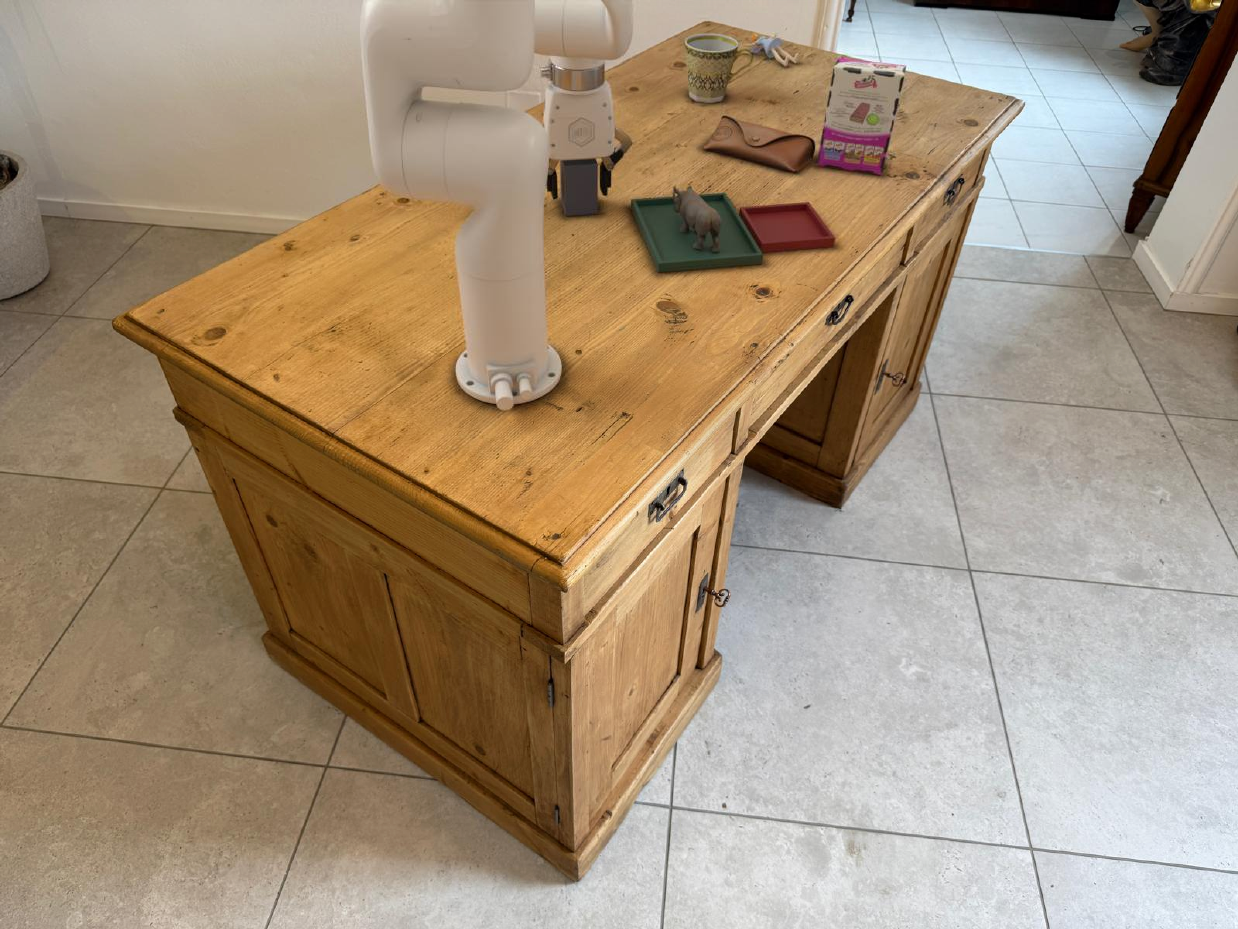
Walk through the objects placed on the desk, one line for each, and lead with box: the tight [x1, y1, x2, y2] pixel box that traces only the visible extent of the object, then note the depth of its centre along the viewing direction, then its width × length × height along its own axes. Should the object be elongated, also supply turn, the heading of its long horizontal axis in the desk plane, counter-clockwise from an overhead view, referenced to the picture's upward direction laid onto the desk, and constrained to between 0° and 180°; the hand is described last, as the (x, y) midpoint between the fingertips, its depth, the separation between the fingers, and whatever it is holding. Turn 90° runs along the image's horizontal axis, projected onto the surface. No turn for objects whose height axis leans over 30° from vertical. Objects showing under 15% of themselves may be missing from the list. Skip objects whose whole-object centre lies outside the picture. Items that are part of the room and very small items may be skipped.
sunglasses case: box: [702, 115, 816, 173], centre depth 151 cm, size 18×7×7 cm, turn 61°
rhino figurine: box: [672, 185, 722, 253], centre depth 129 cm, size 4×14×6 cm, turn 21°
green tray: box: [630, 192, 764, 273], centre depth 130 cm, size 19×15×2 cm
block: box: [559, 158, 599, 217], centre depth 134 cm, size 5×5×8 cm
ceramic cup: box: [684, 33, 754, 104], centre depth 166 cm, size 13×10×10 cm
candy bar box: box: [816, 57, 907, 176], centre depth 144 cm, size 11×5×16 cm, turn 73°
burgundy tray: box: [738, 201, 836, 254], centre depth 132 cm, size 11×11×2 cm
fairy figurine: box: [741, 33, 800, 67], centre depth 186 cm, size 12×5×12 cm
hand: (578, 192), depth 135 cm, fingers open, 7 cm apart
